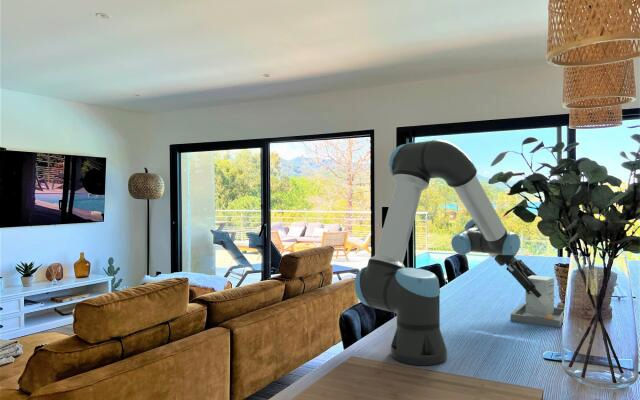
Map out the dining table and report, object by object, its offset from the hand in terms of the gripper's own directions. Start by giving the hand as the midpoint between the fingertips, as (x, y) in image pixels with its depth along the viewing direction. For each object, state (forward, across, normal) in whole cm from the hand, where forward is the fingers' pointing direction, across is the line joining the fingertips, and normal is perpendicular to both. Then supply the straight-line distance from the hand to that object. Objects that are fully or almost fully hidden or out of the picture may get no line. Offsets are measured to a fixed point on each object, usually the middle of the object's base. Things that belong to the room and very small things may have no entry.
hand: (550, 301), depth 156 cm
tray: (+3, 0, +7) cm, 8 cm away
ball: (+5, -6, +4) cm, 9 cm away
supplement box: (+1, 0, +6) cm, 6 cm away
